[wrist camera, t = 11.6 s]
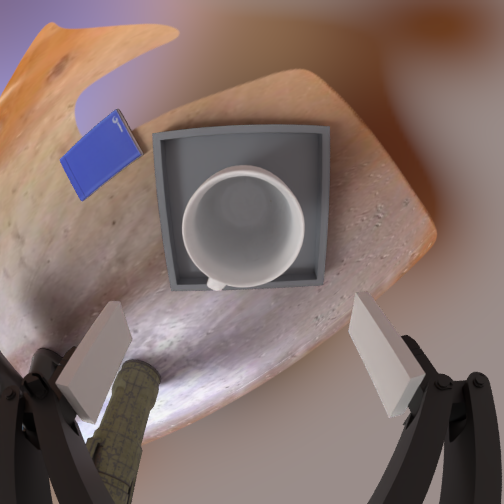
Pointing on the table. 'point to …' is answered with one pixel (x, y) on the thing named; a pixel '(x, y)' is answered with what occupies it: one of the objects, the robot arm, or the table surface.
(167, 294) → the table surface
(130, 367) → the thermos
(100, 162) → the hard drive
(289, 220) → the mug
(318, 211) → the tray
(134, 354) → the table surface
